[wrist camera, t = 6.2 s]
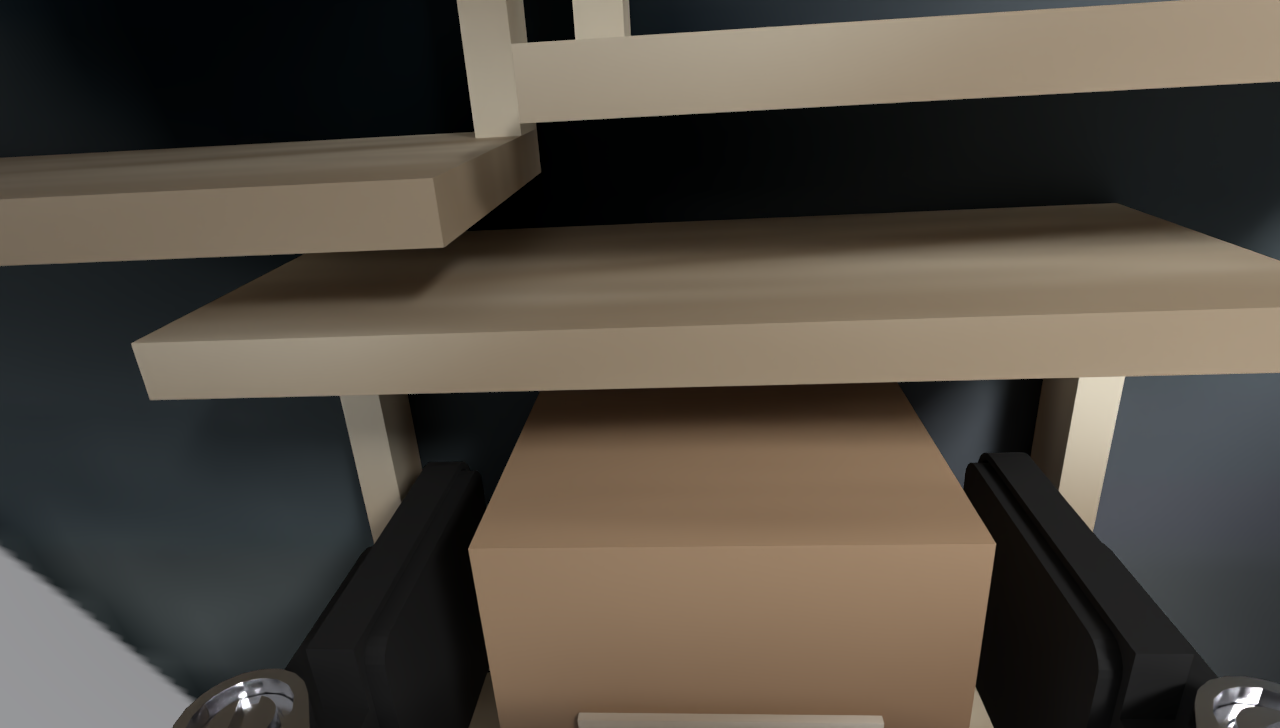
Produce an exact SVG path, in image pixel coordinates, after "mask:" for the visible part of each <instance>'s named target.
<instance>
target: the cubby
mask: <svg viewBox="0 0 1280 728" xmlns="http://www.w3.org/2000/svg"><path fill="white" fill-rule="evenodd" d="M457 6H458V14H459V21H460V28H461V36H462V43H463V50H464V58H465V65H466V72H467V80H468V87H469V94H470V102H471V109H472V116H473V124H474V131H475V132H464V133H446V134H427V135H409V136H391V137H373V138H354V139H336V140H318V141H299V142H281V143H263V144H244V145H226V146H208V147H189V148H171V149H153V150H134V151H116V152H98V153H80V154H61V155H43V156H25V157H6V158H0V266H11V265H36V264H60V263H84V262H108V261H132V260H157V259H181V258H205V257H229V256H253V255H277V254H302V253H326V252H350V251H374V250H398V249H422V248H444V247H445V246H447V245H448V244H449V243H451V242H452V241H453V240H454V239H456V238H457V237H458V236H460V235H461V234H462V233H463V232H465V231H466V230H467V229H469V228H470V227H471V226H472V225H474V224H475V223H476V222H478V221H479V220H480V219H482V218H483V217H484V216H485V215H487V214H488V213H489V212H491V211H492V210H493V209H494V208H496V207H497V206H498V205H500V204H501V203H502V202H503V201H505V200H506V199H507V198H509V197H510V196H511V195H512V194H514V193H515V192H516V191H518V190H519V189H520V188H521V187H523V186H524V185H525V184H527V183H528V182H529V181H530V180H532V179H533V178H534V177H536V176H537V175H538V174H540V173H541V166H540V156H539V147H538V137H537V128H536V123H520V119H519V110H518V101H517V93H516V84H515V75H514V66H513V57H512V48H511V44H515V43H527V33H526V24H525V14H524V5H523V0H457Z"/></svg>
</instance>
